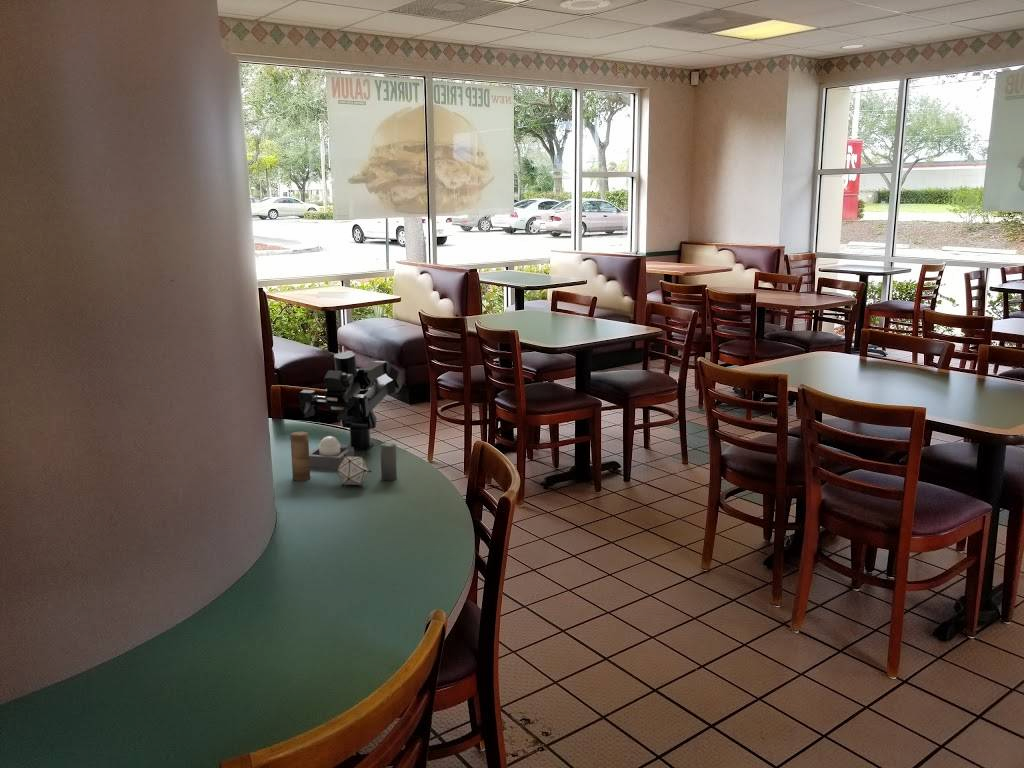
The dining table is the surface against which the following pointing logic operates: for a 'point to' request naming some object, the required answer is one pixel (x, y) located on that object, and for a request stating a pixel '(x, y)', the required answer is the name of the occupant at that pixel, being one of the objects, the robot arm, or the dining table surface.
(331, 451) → the dome
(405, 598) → the dining table surface
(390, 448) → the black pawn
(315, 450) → the box
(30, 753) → the dining table surface
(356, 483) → the grey faceted polyhedron
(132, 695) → the dining table surface
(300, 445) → the walnut pawn
